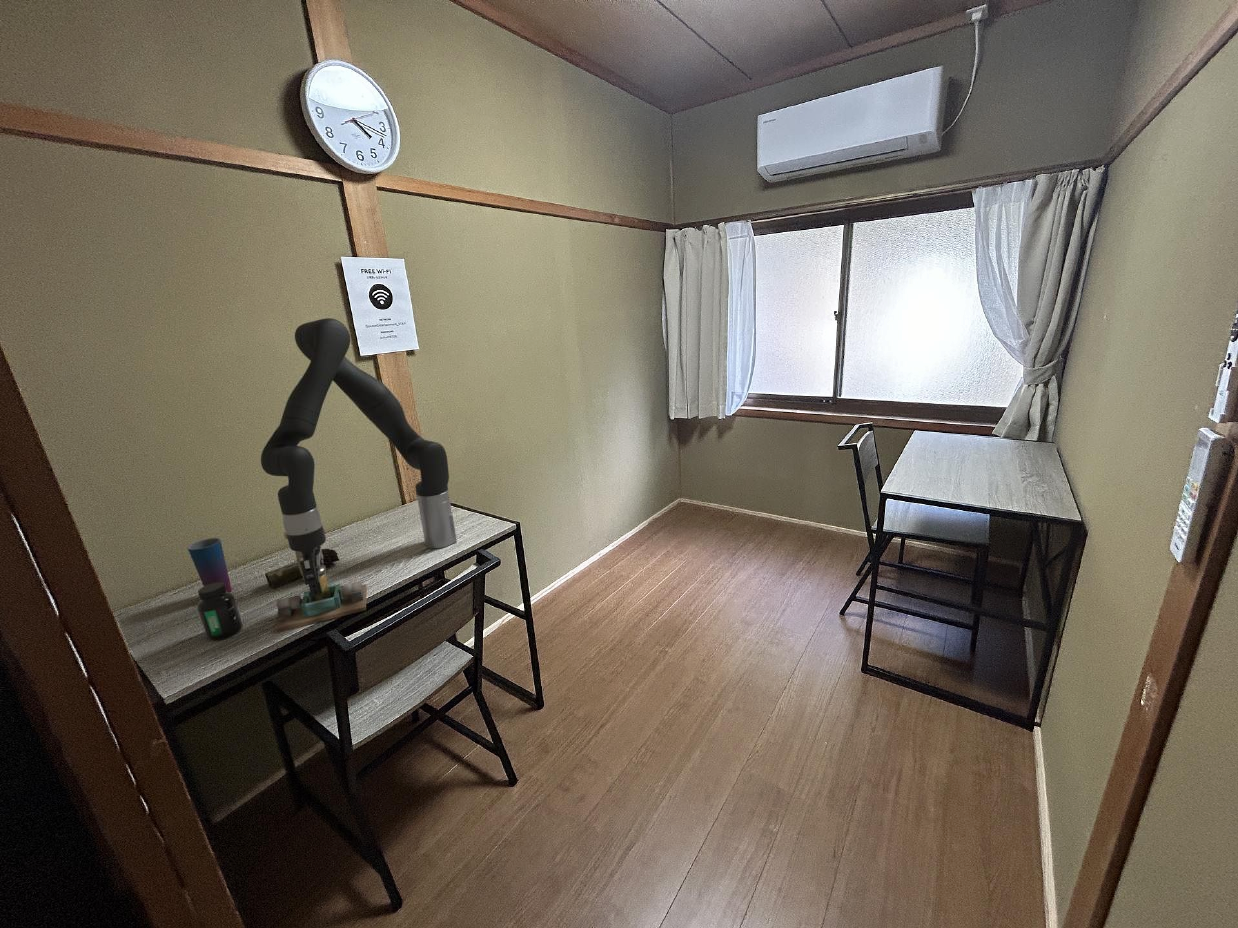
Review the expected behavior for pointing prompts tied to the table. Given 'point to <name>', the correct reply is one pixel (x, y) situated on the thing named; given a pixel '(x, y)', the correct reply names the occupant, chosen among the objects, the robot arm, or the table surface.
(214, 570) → the cup
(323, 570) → the cylinder
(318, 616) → the shaft bench
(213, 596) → the supplement bottle
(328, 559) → the dark brown elongated piece
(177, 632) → the table surface
